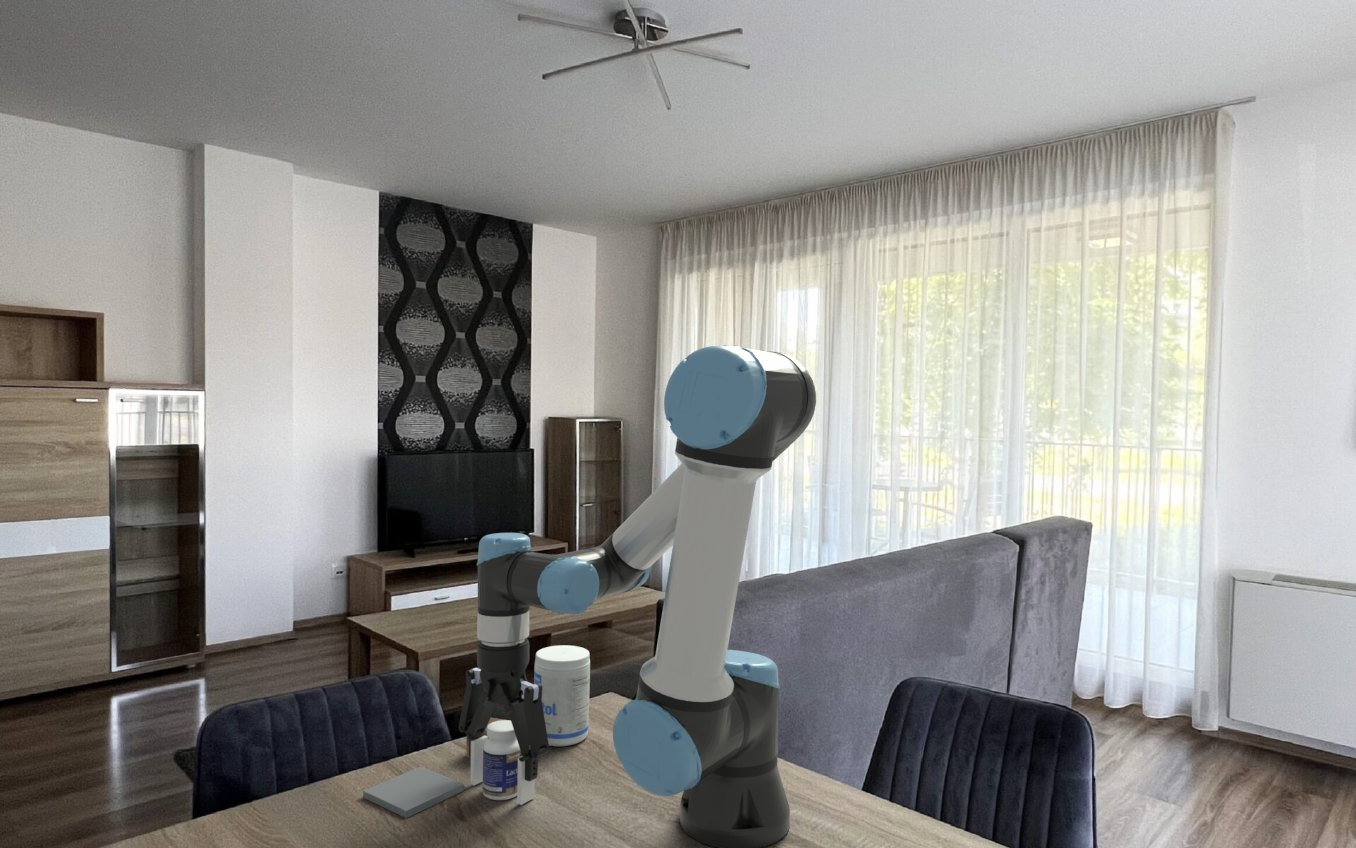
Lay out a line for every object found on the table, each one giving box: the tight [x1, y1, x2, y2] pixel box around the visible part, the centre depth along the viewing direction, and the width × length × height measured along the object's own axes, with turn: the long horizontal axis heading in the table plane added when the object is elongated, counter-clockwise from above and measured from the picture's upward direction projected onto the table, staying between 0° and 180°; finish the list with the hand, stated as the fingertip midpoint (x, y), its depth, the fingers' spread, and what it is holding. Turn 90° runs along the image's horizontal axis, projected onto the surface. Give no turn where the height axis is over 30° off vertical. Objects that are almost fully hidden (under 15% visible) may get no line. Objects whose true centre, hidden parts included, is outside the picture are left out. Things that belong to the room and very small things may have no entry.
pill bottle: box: [482, 719, 522, 801], centre depth 118 cm, size 6×6×10 cm
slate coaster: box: [362, 765, 465, 819], centre depth 118 cm, size 10×10×1 cm
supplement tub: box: [533, 644, 591, 747], centre depth 139 cm, size 10×10×15 cm
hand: (502, 791), depth 119 cm, fingers open, 9 cm apart
